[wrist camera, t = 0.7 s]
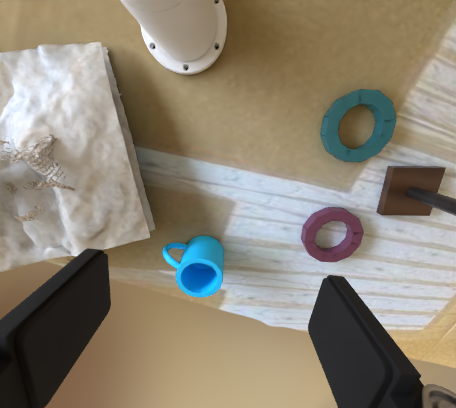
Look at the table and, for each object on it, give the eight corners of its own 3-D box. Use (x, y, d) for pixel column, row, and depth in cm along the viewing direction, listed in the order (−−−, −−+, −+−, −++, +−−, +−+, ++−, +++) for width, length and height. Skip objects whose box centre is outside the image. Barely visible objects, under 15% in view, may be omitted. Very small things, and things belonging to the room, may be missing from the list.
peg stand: (388, 166, 39) (461, 182, 26) (438, 166, 39) (535, 183, 26) (376, 212, 42) (438, 246, 29) (422, 212, 42) (503, 247, 29)
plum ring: (306, 206, 41) (310, 209, 39) (363, 208, 41) (369, 212, 40) (297, 255, 45) (300, 261, 43) (350, 257, 45) (355, 263, 43)
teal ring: (327, 90, 35) (333, 87, 33) (395, 93, 35) (404, 91, 33) (316, 158, 38) (320, 160, 37) (377, 161, 38) (384, 163, 37)
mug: (230, 245, 44) (230, 269, 36) (213, 274, 47) (210, 303, 39) (176, 221, 43) (164, 241, 35) (161, 253, 45) (148, 279, 37)
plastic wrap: (85, 9, 26) (150, 250, 32) (126, 66, 41) (164, 221, 48) (-283, 41, 21) (-119, 309, 28) (-83, 91, 37) (-8, 257, 44)
